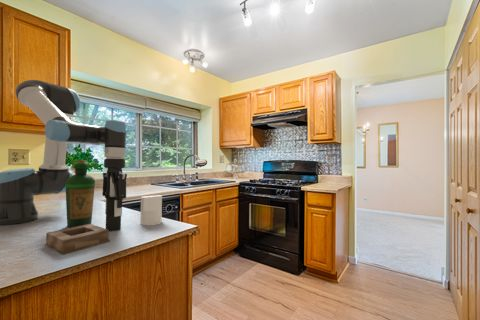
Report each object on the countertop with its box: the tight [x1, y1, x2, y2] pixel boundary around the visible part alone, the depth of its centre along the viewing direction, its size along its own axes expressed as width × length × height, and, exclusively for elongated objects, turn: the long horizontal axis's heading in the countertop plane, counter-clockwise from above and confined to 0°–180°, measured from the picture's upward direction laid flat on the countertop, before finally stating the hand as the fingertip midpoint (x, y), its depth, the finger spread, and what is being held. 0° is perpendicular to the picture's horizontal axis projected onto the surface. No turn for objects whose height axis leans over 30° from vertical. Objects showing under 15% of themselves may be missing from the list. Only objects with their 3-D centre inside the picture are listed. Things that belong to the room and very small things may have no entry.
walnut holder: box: [44, 223, 110, 255], centre depth 75 cm, size 14×14×4 cm
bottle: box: [65, 159, 96, 228], centre depth 96 cm, size 11×11×28 cm
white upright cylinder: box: [139, 194, 163, 226], centre depth 102 cm, size 9×9×12 cm
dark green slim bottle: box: [105, 176, 122, 232], centre depth 91 cm, size 5×5×25 cm
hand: (113, 214), depth 91 cm, fingers closed on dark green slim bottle, 6 cm apart
